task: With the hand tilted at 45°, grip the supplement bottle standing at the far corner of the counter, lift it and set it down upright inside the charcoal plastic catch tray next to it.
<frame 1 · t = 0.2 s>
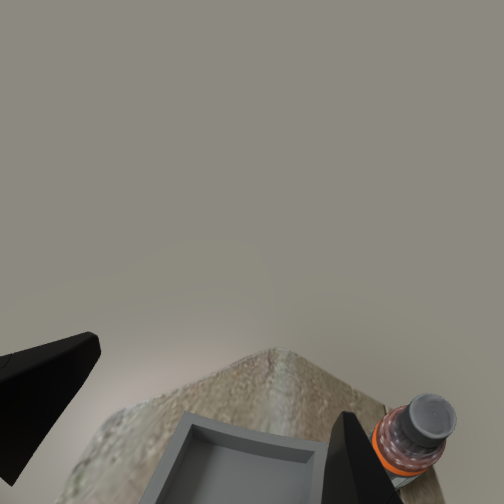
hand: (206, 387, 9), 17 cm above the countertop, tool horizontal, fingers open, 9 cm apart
supplement bottle: (364, 481, 18), on the countertop
catch tray: (234, 503, 16), on the countertop
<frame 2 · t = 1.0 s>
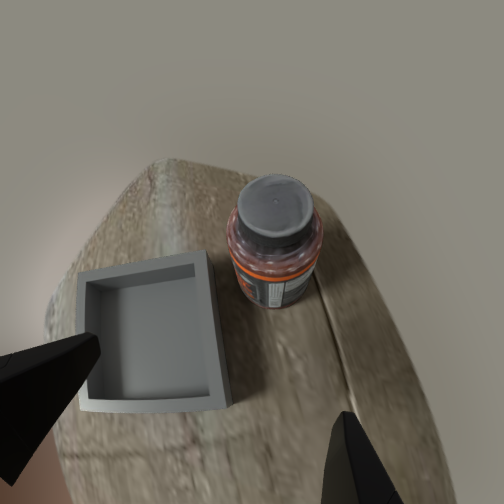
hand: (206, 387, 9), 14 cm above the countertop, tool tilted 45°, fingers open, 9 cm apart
supplement bottle: (273, 279, 25), on the countertop
catch tray: (154, 341, 23), on the countertop
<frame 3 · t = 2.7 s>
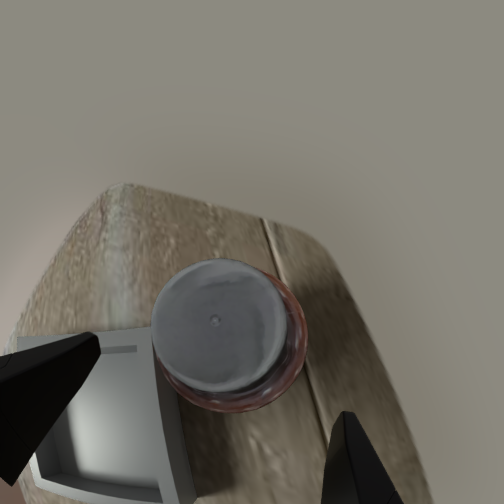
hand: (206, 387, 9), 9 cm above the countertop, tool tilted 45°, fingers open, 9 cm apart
supplement bottle: (246, 355, 18), on the countertop
catch tray: (105, 420, 16), on the countertop
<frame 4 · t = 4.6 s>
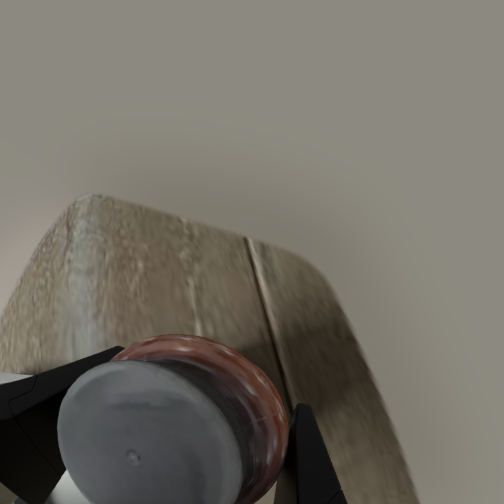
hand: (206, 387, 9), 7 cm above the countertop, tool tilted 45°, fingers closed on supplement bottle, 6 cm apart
supplement bottle: (225, 406, 14), on the countertop, touching gripper
catch tray: (76, 462, 12), on the countertop
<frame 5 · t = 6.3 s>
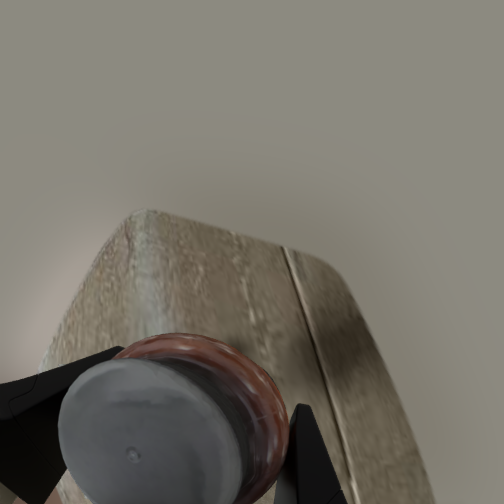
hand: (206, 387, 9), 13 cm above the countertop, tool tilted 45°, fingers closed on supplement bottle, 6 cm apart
supplement bottle: (226, 406, 14), point 6 cm above the countertop, touching gripper
when the fingers open (9 cm above the countertop, at t = 8.4 s): supplement bottle drops 1 cm, resting on catch tray.
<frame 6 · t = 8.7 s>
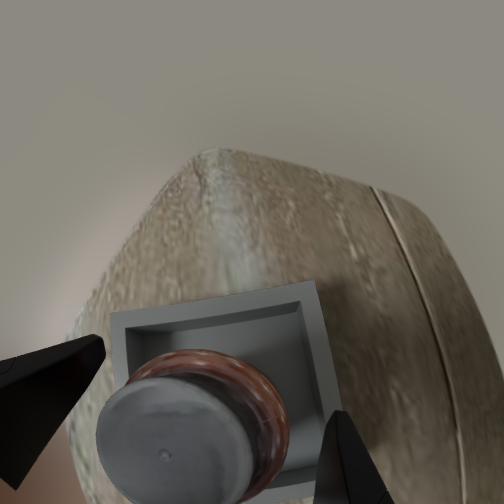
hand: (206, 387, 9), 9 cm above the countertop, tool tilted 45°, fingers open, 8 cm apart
supplement bottle: (231, 407, 15), point 1 cm above the countertop, touching catch tray
catch tray: (230, 403, 16), on the countertop
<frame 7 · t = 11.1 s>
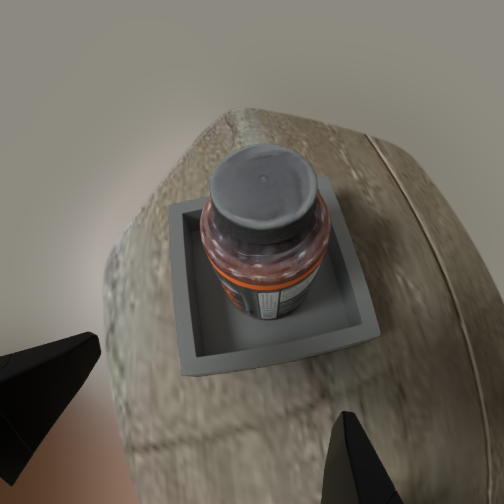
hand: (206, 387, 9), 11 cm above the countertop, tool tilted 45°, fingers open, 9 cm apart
supplement bottle: (267, 282, 21), point 1 cm above the countertop, touching catch tray
catch tray: (266, 282, 21), on the countertop
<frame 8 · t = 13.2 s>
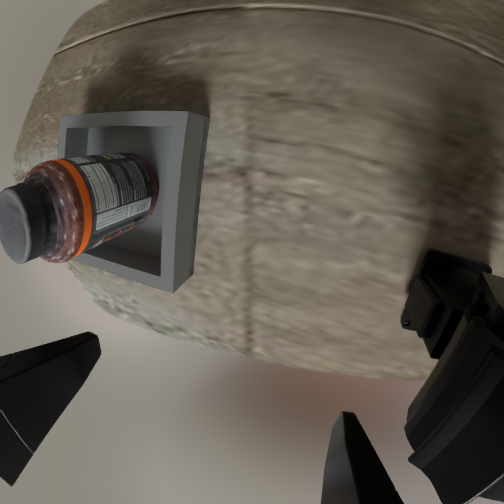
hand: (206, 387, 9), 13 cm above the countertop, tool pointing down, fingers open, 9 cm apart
supplement bottle: (131, 189, 21), point 1 cm above the countertop, touching catch tray
catch tray: (133, 188, 22), on the countertop
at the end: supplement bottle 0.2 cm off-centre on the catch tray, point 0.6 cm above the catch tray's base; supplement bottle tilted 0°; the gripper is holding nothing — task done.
